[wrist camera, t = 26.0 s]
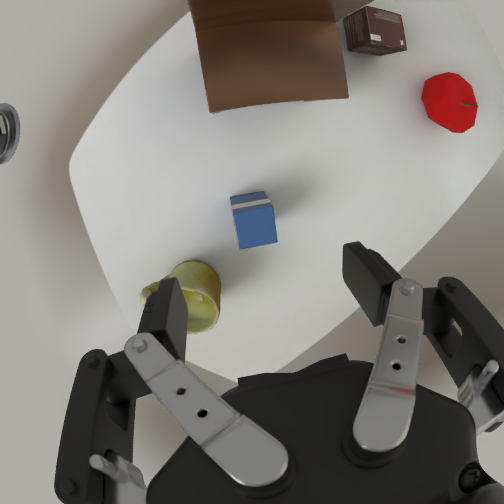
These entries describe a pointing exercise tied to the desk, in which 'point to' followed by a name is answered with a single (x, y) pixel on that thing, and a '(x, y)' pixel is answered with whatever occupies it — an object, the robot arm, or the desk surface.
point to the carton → (253, 220)
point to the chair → (270, 50)
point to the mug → (195, 294)
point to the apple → (450, 102)
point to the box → (374, 32)
